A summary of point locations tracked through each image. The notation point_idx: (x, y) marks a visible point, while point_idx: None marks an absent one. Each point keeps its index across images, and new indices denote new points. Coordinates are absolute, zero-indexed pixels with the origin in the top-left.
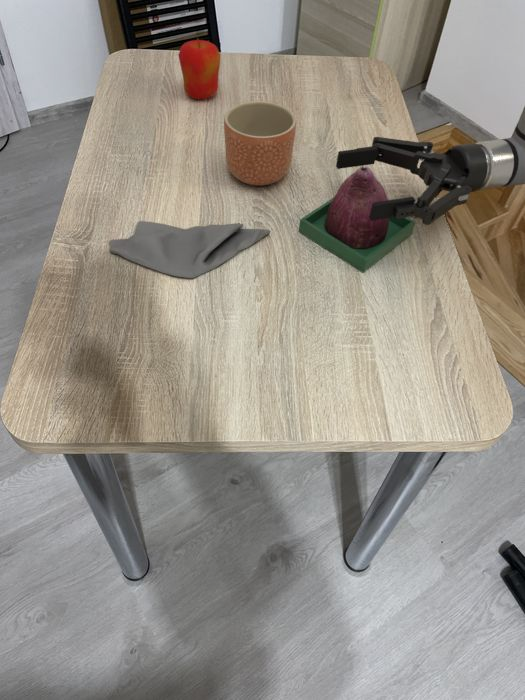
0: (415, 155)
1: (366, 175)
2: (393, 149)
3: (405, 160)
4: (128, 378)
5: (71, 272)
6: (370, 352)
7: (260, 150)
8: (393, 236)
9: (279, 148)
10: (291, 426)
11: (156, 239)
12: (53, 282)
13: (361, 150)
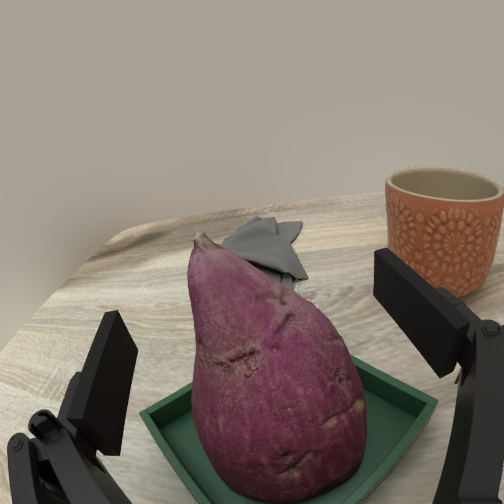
0: (459, 500)
1: (188, 265)
2: (491, 388)
3: (453, 471)
4: (125, 251)
5: (238, 214)
6: (35, 390)
7: (389, 208)
8: (201, 494)
9: (409, 220)
10: (32, 321)
11: (258, 225)
12: (229, 212)
13: (420, 288)
